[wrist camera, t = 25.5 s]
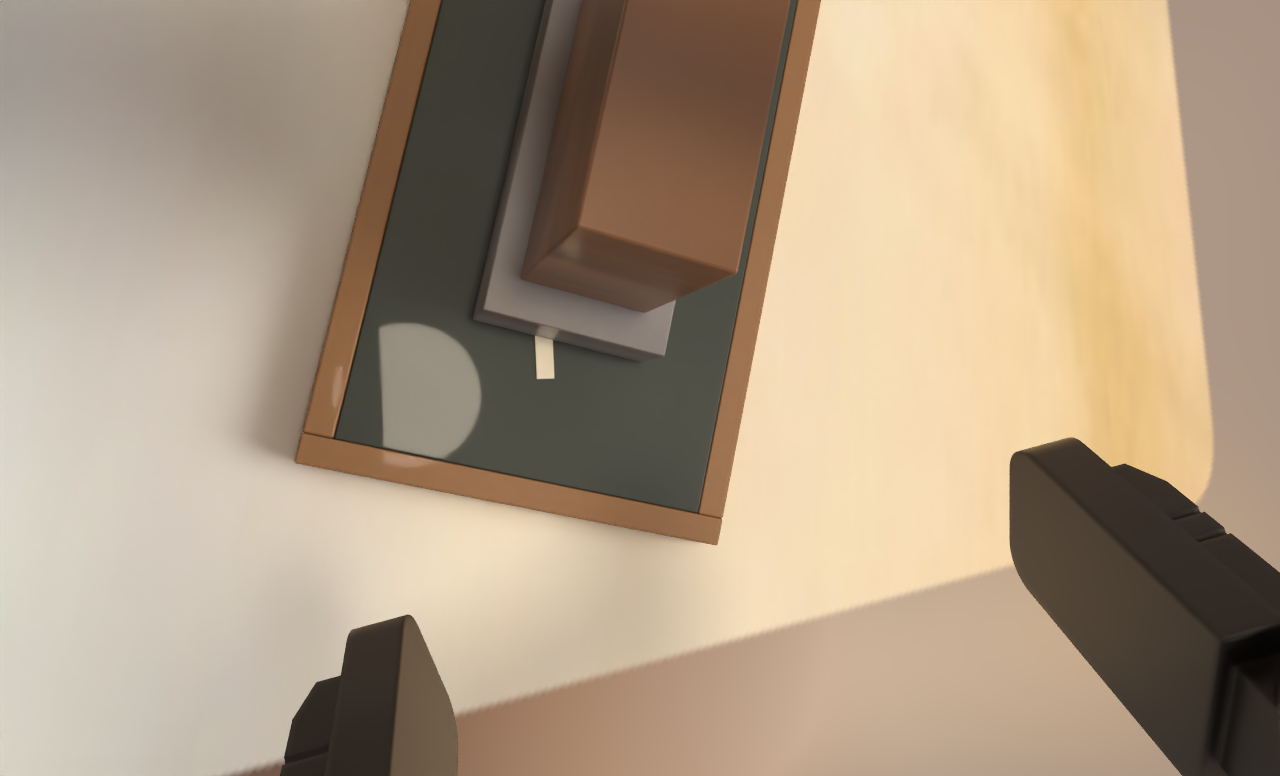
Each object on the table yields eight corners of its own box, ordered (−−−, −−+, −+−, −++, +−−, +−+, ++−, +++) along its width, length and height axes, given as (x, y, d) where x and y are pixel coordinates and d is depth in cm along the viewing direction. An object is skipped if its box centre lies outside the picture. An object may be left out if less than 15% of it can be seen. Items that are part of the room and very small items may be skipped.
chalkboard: (296, 462, 24) (294, 462, 23) (463, -202, 27) (468, -232, 26) (702, 541, 28) (718, 545, 27) (816, -53, 30) (835, -73, 29)
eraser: (641, 362, 26) (762, 330, 19) (471, 320, 25) (527, 265, 17) (707, 43, 27) (845, -110, 20) (549, -16, 26) (632, -206, 18)
